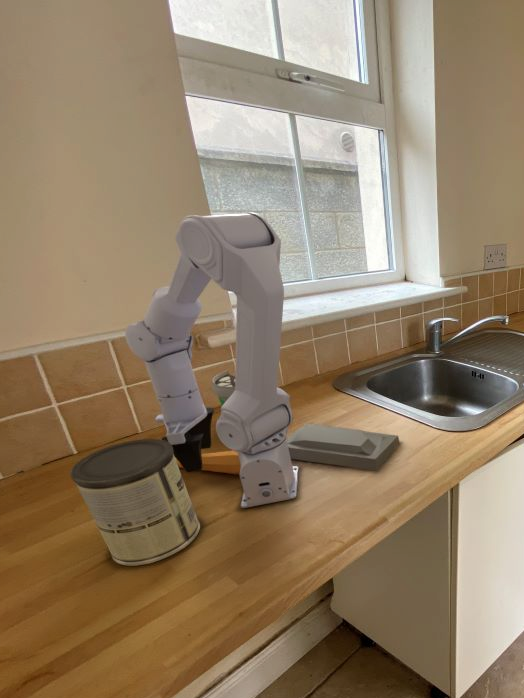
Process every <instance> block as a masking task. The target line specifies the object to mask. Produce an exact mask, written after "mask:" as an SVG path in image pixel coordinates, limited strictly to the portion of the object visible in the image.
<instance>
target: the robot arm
mask: <svg viewBox="0 0 524 698" xmlns="http://www.w3.org/2000/svg"><path fill="white" fill-rule="evenodd" d="M174 238H175V241H176V244H177V247H178V250H179V251H180V253H179V256H178V259H177V263H176V265H175V268H174V271H173V274H172V277H171V281H170V284H169V285H168V286H162V287H159V288H155V289H154V290H153V292H152V296H153V297H152V299H151V301H150V303H149V305H148V308H147V310H146V311H145V314H144V316H143V318H142V320H140V321H137V322H135V323H130V324H128V325H126V326H125V327H126V328H125V334H124V335H125V336H124V337H125V341H126V343H127V345H128V347H129V349H130V351H132V353H133V354H134V355H135V356H136V357H137V358H139V359H140V360H142V361H143V363H144V366H145V368H146V371H147V374H148V377H149V379H150V382H151V386H152V388H153V391H154V393H155V396H156V399H157V402H158V405H159V408H160V410H161V413H160V414H157V416H156V417H155V418H154V420H155V423H156V424H160V423H161V424H162V423H163V424H164V426H165V428H166V434H165V436H162V437H161V439H160V440H164V441H167V442H169V443H170V444H171V445H172V447H173V451H174V452H173V454H174V456H175V458H176V459H177V460H178V461H179V462H180V464H181V465H182V466H183V469H184V471H186V473H194V472H199V471H203V470H202V456H201V454H202V450H206V449H211V448H212V419H213V415H214V413H215V410H214V408H213V407H206V406H205V405H204V401H203V398H202V395H201V392H200V389H199V385H198V383H197V379H196V375H195V373H194V370H193V366H192V362H191V361H193V357H194V355H193V352H192V348H193V346H194V337H193V335H192V334H191V333H190V332H191V331H192V329H193V327H194V325H195V323H196V321H197V319H198V318H199V316H200V315H201V313H202V309H203V305H202V302H201V301H200V299H199V298H200V296H201V295H202V293H203V292H204V291H205V289H206V287H207V286H208V285H209V283H210V282H211V280H212V281H213V282H214V283H215V284H217V286H219V287H220V288H221V289H222V290H224V291H227V292H231V293H233V294H234V295H235V296H236V297H235V298H236V315H235V316H236V319H235V321H236V322H235V326H236V327H235V374H234V375H235V376H234V377H235V391H234V392H233V394H232V395H231V396H230V397H229V398H228V399H227V401H226V402H225V403H224V404H223V406H222V405H221V407H220V416H219V418H218V419H217V420H216V422H215V431H216V435H217V437H218V439H219V441H220V442H221V443H222V444H223V445H224V446H225V447H226V448H228V449H229V450H230V451H233V450H234V451H236V452H237V453H238V457H239V460H240V464H241V469H240V475H239V480H240V482H241V486H242V489H243V494H242V497H241V501H240V508H242V509H246V508H251V507H257V506H263V505H267V504H272V503H277V502H282V501H283V502H284V501H288V500H294V499H296V498H297V494H298V482H299V470H300V469H299V466H297V465H295V466H293V462H292V460H291V458H290V453H289V449H288V444H287V440H286V438H287V435H288V434H289V433H290V432H289V427H290V426H291V425H292V423H293V420H294V414H293V411H292V408H291V403H290V401H291V400H290V399H291V396H290V395H289V394H288V393H287V392H286V391H285V390H283V389H282V388H280V387H278V383H279V382H278V381H279V367H280V355H281V341H282V328H283V327H282V326H283V312H284V301H285V300H284V299H285V287H284V282H283V278H282V274H281V269H280V264H281V263H280V262H281V248H282V240H281V238H280V237H279V235H278V234H277V233H276V231H275V229H273V227H272V225H271V224H270V223H269V221H268V220H267V219H266V218H264V216H262V215H260V214H259V213H256V212H252V211H251V212H250V211H249V212H244V213H239V214H237V213H236V214H218V215H217V214H216V215H198V214H189V215H186V216H184V217H183V218H182V219H181V221H180V223H179V226H178V231H177V232H176V233H175V234H174Z"/></svg>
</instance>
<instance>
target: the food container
mask: <svg viewBox="0 0 524 698" xmlns="http://www.w3.org/2000/svg"><path fill="white" fill-rule="evenodd" d="M234 391H235V376H234V375H231V374H230V371H229V370H225V371H222V372H220V373H218V374H217V375H215V376H214V377H213V378H212V382H211V393H212V394H214V395H215V396H217V398H218V400H219V402H220V405H221V407H222V406H223V404H224V403H225V402H226V401H227V399H228V398H229V397H230V396H231V395H232V394H233V392H234Z"/></svg>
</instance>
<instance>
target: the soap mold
mask: <svg viewBox="0 0 524 698" xmlns="http://www.w3.org/2000/svg"><path fill="white" fill-rule="evenodd" d="M286 440H287V444H288V449H289V453H290V458H291V459H293V460H298V461H305V462H311V463H320V464H326V465H334V466H340V467H347V468H354V469H361V470H362V469H363V470H369V471H378V470H379V469H380V467H381V466H382V465H383V463H384V462H386V460H387V459H388V457H389V456H390V455H391V454H392V453H393V451H394V450H395V449H396V448H397V446H399V444H400V438H399V435H397V434H390V433H389V434H388V433H381V432H373V431H365V430H361V429H356V428H347V427H341V426H332V425H324V424H319V423H318V424H317V423H306V424H304V425H302V426H301V427H300V428H298V429H296V430H295V431H293V432H292V433H291V434H290V435H289V436H286Z"/></svg>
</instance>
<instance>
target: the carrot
mask: <svg viewBox="0 0 524 698" xmlns="http://www.w3.org/2000/svg"><path fill="white" fill-rule="evenodd" d="M201 456H202V470H201V471H207V472H215V473H223V474H232V475H239V476H240V469H241V464H240V460H239V457H238V453H237V452H236V451H234V450H227V451H226V450H225V451H218V452H217V451H215V452H208V453H201ZM175 459H176V458H175ZM176 462H177V465H178V467H179V468H183V466H182V465H181V464H180V462H179V461H178V460H177V459H176ZM183 469H184V468H183Z"/></svg>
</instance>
